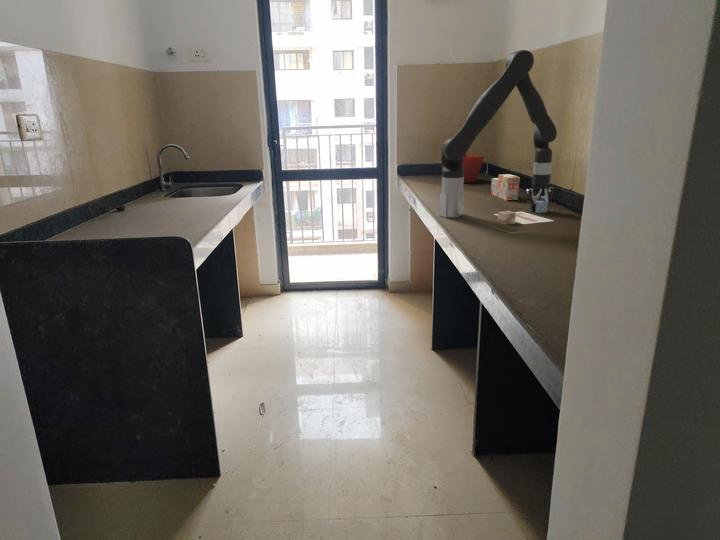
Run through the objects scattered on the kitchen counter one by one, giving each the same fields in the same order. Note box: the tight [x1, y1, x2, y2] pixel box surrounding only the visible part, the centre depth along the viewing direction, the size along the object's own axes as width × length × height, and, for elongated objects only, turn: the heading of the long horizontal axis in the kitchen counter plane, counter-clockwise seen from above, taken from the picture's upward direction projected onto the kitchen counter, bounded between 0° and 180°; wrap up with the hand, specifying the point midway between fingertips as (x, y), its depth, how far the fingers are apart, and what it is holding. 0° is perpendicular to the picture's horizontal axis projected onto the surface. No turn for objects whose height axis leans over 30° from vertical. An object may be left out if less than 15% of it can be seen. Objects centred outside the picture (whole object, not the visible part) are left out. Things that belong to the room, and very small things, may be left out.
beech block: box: [496, 210, 516, 225], centre depth 197 cm, size 5×5×5 cm
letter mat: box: [492, 211, 554, 225], centre depth 206 cm, size 15×22×1 cm
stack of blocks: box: [490, 173, 521, 201], centre depth 256 cm, size 21×6×12 cm, turn 7°
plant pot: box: [463, 153, 485, 184], centre depth 317 cm, size 19×19×17 cm
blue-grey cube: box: [529, 200, 549, 214], centre depth 217 cm, size 5×5×5 cm
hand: (538, 211), depth 217 cm, fingers closed on blue-grey cube, 5 cm apart
